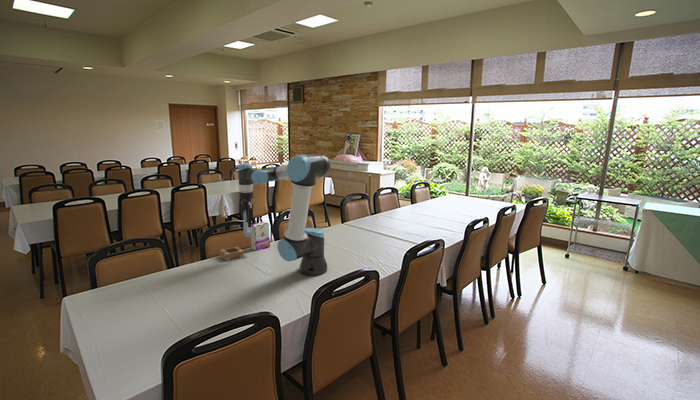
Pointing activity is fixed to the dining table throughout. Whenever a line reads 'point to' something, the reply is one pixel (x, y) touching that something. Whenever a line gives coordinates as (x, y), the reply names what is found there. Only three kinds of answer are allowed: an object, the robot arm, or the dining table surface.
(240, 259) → the mat
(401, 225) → the dining table surface
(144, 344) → the dining table surface
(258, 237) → the candy bar box
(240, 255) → the wooden square frame
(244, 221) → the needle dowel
